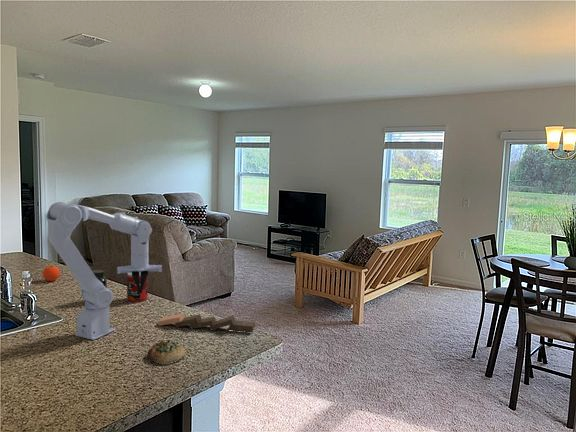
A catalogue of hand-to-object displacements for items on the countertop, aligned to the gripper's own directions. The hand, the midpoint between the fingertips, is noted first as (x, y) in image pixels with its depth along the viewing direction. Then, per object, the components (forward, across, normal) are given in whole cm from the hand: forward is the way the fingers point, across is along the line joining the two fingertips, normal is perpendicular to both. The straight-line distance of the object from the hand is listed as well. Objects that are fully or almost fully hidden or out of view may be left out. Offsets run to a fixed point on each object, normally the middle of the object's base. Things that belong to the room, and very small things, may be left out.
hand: (140, 292), depth 151 cm
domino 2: (+10, +12, -7) cm, 17 cm away
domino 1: (+10, +7, -4) cm, 13 cm away
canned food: (+11, -1, +25) cm, 28 cm away
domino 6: (+11, +29, -14) cm, 34 cm away
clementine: (+11, -38, +61) cm, 72 cm away
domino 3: (+10, +17, -9) cm, 21 cm away
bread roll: (+11, +7, -31) cm, 33 cm away
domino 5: (+9, +30, -14) cm, 34 cm away
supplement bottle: (+11, -16, +26) cm, 32 cm away
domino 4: (+10, +23, -12) cm, 28 cm away
